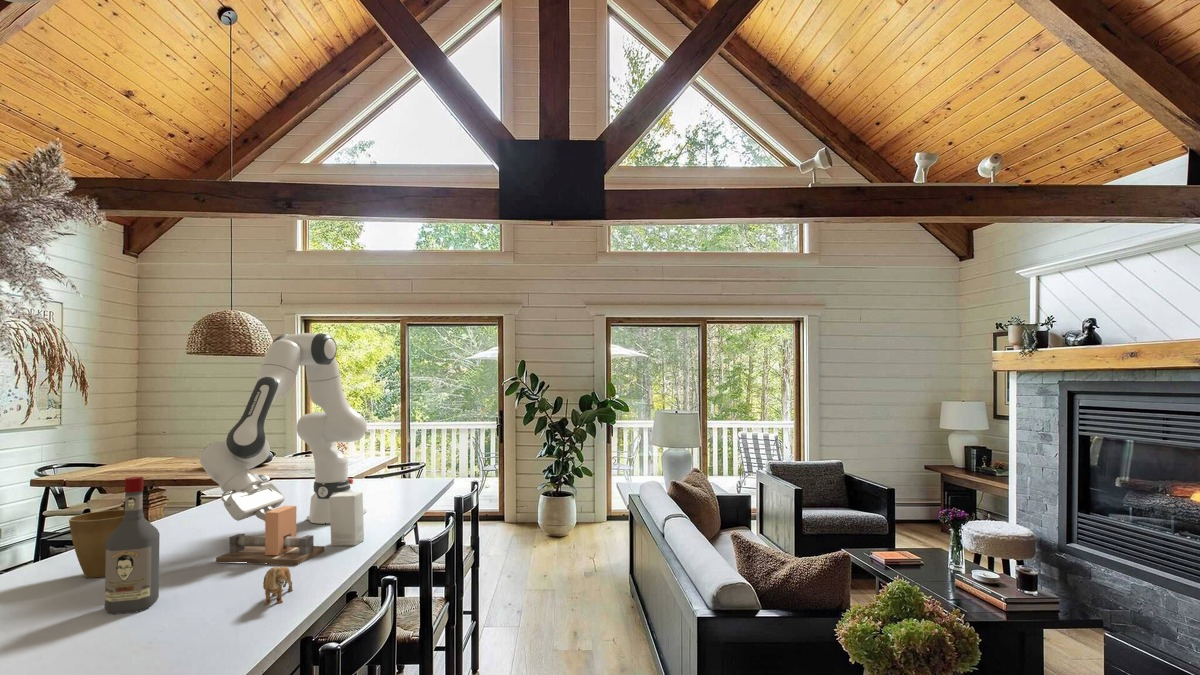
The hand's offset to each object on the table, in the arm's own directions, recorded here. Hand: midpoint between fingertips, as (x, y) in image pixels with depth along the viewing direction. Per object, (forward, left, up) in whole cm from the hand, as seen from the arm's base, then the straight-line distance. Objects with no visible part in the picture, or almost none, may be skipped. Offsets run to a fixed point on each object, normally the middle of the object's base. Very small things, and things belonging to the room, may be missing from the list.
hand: (272, 521), depth 197 cm
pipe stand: (0, 0, -10) cm, 10 cm away
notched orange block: (0, +3, -8) cm, 9 cm away
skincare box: (-16, +15, -11) cm, 24 cm away
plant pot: (+19, -37, -11) cm, 43 cm away
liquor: (+41, -8, -10) cm, 43 cm away
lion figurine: (+33, +23, -11) cm, 42 cm away
